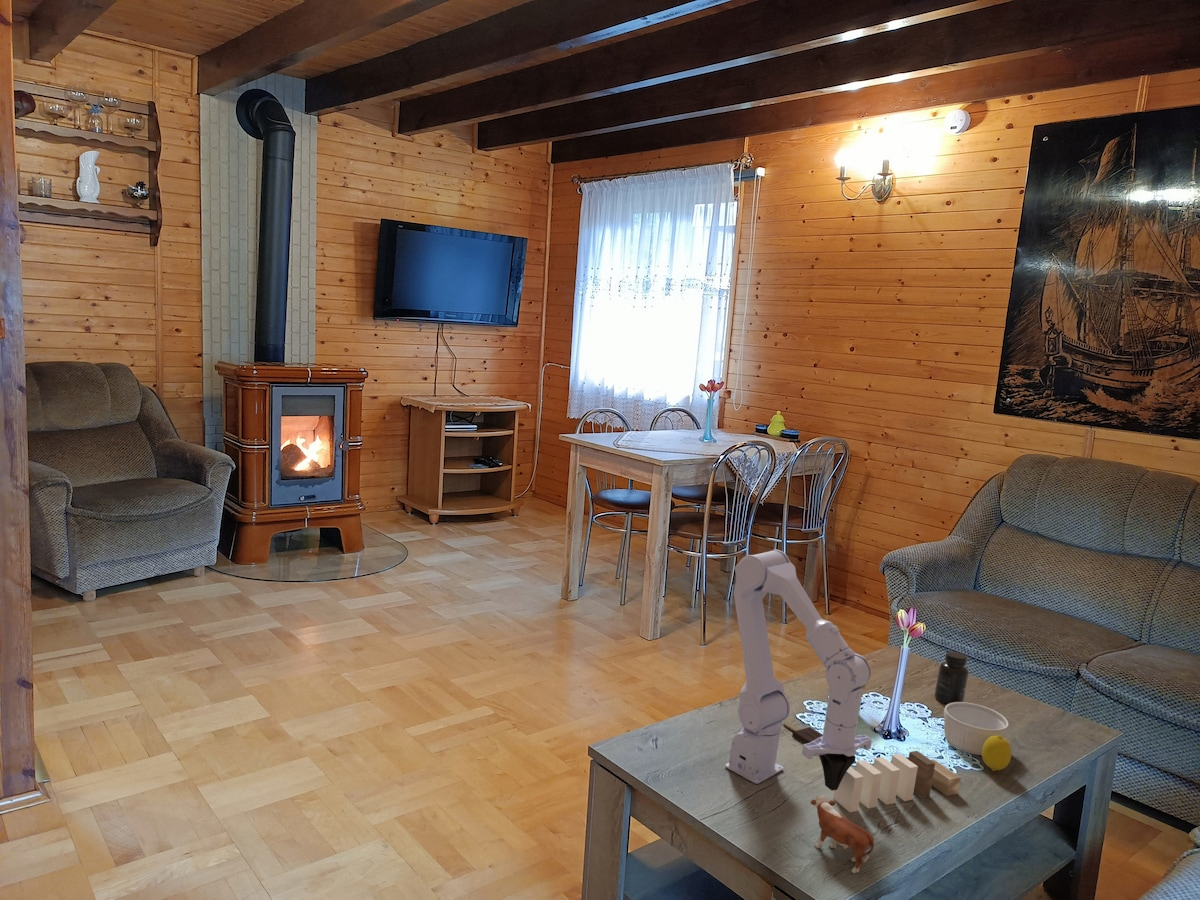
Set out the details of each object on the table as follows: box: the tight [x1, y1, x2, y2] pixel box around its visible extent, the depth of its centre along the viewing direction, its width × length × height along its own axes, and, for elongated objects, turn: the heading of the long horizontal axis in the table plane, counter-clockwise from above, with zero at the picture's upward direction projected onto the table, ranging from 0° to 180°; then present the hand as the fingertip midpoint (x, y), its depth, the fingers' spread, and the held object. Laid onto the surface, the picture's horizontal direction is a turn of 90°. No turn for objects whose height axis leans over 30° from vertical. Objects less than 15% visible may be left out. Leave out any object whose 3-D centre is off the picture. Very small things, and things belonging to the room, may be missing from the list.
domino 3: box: [872, 756, 900, 806], centre depth 168 cm, size 2×5×7 cm, turn 25°
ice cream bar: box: [782, 720, 823, 744], centre depth 188 cm, size 5×2×15 cm
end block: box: [930, 759, 962, 797], centre depth 174 cm, size 3×7×4 cm, turn 25°
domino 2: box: [854, 759, 882, 810], centre depth 166 cm, size 2×5×7 cm, turn 25°
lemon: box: [981, 735, 1012, 772], centre depth 182 cm, size 6×6×8 cm
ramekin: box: [943, 701, 1009, 757], centre depth 193 cm, size 13×13×7 cm
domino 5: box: [907, 750, 935, 798], centre depth 172 cm, size 2×5×7 cm, turn 25°
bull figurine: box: [810, 795, 875, 874], centre depth 148 cm, size 4×13×8 cm, turn 33°
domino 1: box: [832, 765, 864, 813], centre depth 164 cm, size 2×5×7 cm, turn 25°
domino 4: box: [890, 753, 918, 802], centre depth 170 cm, size 2×5×7 cm, turn 25°
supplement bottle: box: [934, 650, 970, 705], centre depth 214 cm, size 7×7×12 cm
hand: (831, 787), depth 162 cm, fingers closed
